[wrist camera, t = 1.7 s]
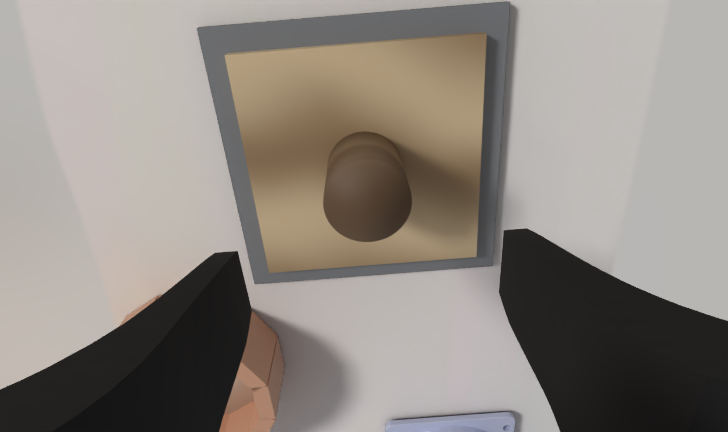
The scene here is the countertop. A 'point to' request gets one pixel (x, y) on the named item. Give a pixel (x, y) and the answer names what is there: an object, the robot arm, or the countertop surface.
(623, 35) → the countertop surface
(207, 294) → the robot arm
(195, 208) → the countertop surface
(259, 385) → the bowl
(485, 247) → the mat
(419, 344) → the countertop surface
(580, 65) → the countertop surface
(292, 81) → the lid
